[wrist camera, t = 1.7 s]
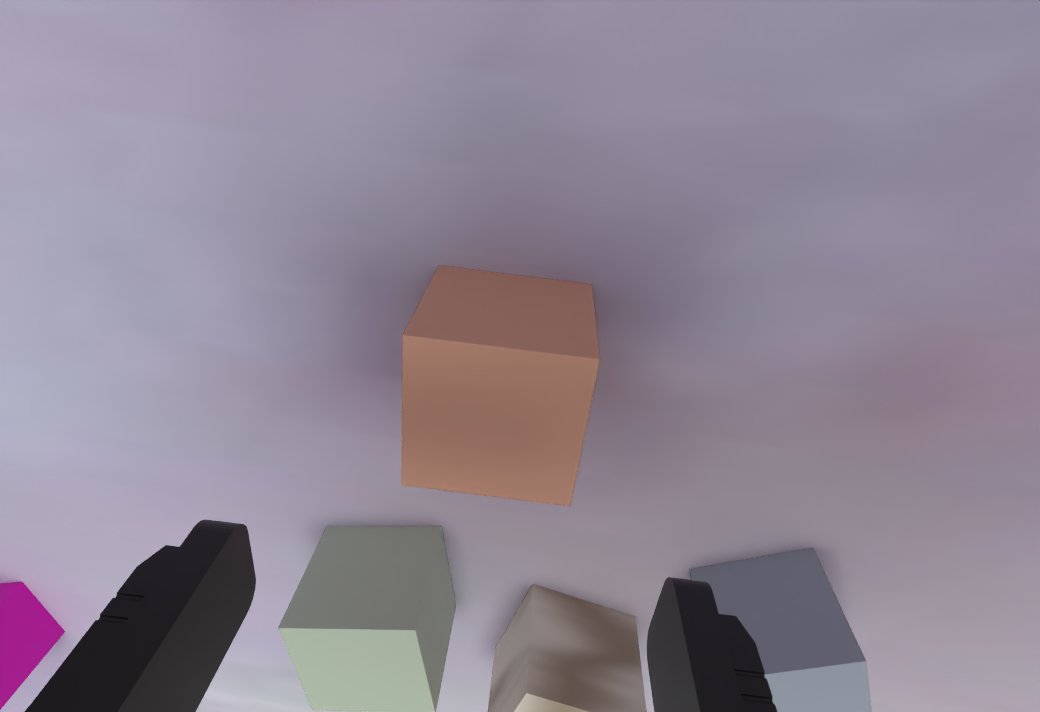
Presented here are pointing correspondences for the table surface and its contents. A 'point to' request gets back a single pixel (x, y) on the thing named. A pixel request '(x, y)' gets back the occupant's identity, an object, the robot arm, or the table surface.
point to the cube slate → (794, 630)
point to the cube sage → (372, 619)
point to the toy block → (22, 636)
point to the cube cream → (567, 658)
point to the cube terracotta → (498, 385)
